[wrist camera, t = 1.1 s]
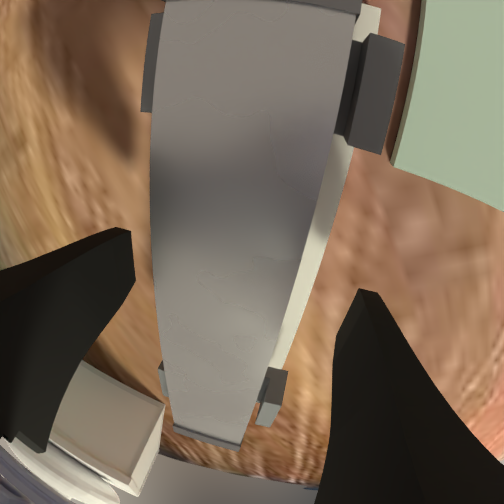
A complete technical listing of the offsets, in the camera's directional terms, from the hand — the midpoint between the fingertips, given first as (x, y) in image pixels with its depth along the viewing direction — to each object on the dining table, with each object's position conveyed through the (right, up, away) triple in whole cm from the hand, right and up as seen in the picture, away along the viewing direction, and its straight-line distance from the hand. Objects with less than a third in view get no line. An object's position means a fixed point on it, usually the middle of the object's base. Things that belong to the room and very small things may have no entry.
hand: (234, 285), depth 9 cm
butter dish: (-17, -15, +19) cm, 30 cm away
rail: (0, 0, 0) cm, 0 cm away
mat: (+10, +10, -5) cm, 15 cm away
